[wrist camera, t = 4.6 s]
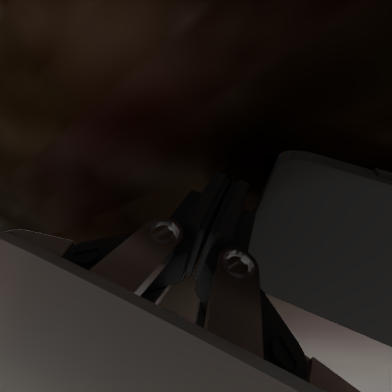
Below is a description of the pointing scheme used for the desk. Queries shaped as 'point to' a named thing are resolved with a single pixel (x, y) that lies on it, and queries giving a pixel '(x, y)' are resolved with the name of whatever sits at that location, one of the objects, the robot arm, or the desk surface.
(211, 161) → the desk surface
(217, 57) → the desk surface
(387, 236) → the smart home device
